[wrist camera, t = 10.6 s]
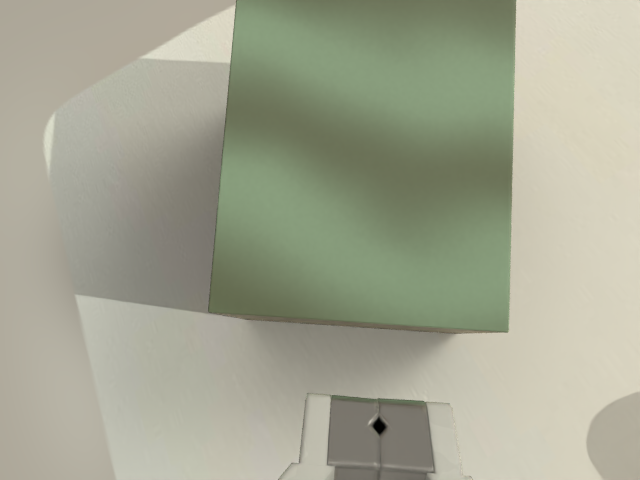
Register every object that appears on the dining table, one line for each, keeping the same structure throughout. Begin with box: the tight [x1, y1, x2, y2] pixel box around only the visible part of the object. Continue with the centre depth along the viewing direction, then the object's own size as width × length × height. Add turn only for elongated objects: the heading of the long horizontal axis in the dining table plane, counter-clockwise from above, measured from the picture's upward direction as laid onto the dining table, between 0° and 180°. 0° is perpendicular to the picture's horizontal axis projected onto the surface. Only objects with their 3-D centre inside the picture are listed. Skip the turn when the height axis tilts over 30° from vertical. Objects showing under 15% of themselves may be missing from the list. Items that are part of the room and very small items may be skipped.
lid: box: [208, 0, 516, 333], centre depth 26 cm, size 17×14×1 cm
